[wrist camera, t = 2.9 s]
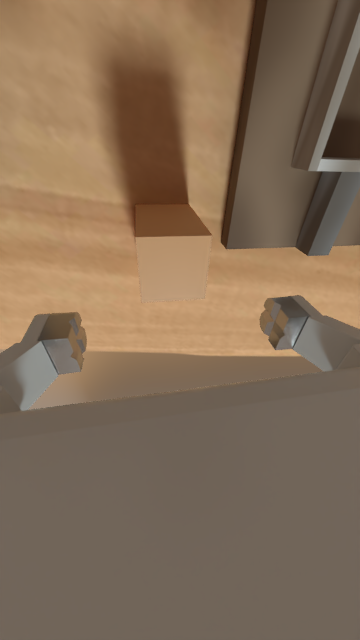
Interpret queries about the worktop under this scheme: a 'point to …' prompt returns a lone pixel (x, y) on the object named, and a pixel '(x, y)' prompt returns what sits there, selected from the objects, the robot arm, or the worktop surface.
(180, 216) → the block
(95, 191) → the worktop surface
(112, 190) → the worktop surface
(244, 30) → the worktop surface
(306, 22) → the grey holder stand
